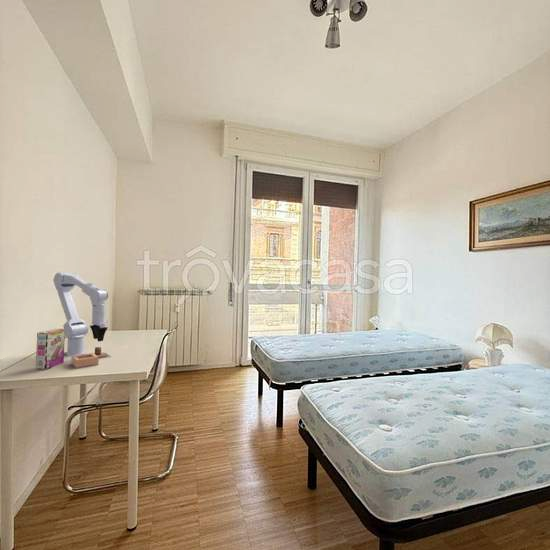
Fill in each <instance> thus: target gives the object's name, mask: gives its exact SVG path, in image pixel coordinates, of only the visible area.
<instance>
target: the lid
mask: <svg viewBox="0 0 550 550" xmlns="http://www.w3.org/2000/svg"><path fill="white" fill-rule="evenodd" d="M93 353H94V354H96V355H97V356H98V357H99V358H101V359H104V358H103V357H106V356H107V354H108V353H107V352H102V347H101V346H97V347H94V352H93Z"/></svg>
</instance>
